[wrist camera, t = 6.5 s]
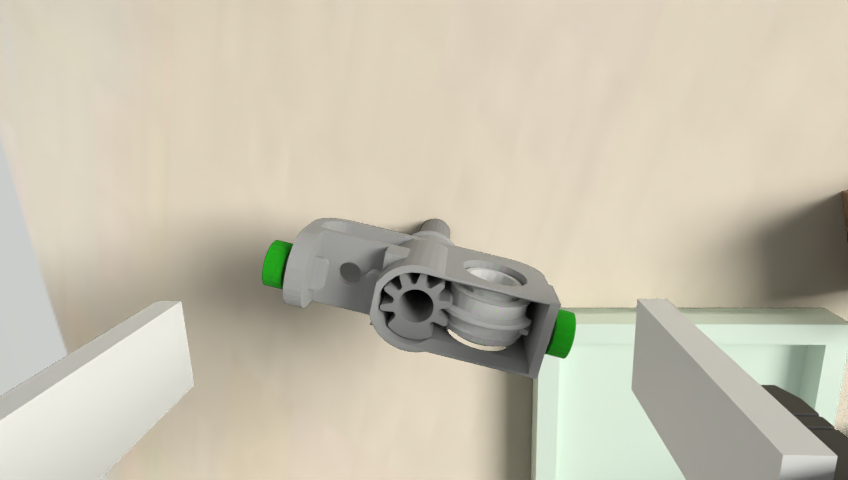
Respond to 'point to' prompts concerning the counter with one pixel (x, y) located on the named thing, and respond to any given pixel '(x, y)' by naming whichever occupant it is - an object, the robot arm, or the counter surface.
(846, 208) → the walnut block
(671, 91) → the counter surface
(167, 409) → the robot arm
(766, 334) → the tray
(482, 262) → the mechanical component
